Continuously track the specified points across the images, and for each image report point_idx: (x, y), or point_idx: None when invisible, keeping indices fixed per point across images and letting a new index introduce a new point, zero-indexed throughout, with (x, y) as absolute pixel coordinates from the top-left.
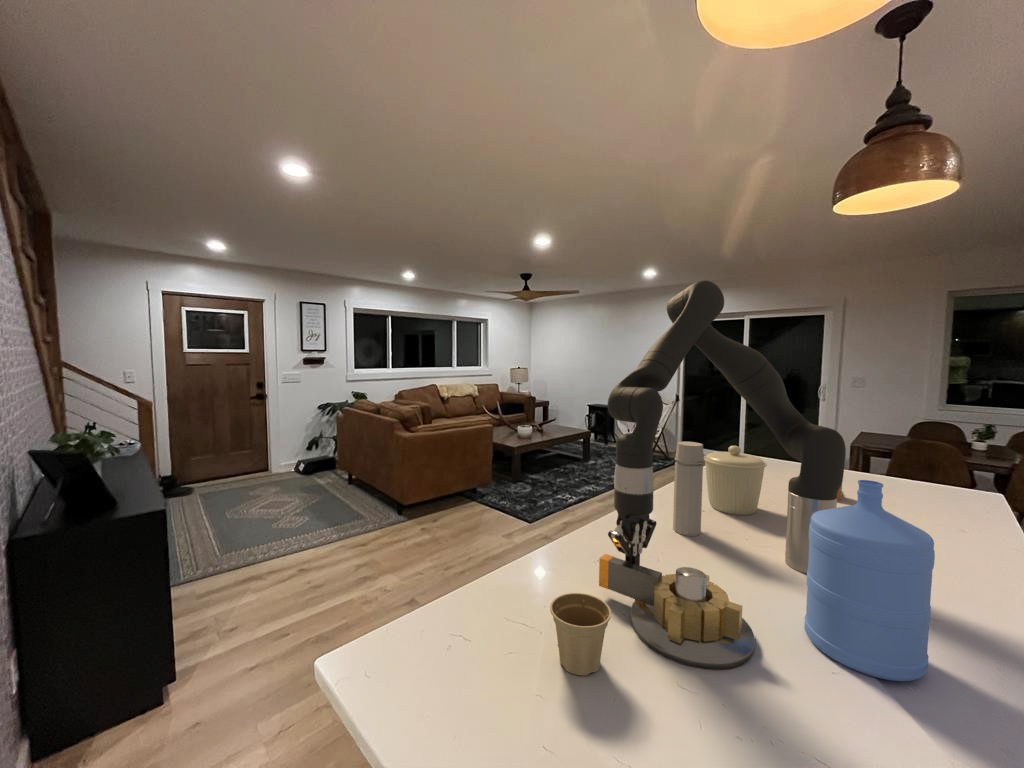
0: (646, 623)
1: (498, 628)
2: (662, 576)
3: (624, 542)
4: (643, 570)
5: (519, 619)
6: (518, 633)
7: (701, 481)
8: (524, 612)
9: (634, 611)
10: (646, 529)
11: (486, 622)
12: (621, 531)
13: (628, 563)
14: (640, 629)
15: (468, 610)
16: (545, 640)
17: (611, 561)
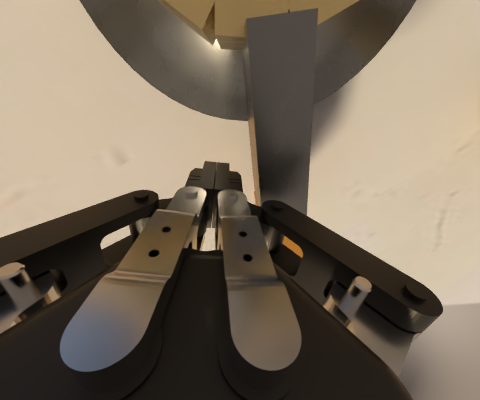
0: (359, 25)
1: (467, 239)
2: (227, 32)
3: (343, 254)
4: (288, 109)
5: (429, 235)
6: (469, 214)
7: None
8: (406, 242)
9: (319, 90)
10: (60, 268)
11: (457, 256)
12: (367, 333)
13: (273, 184)
14: (396, 23)
15: (438, 285)
16: (474, 175)
17: None
